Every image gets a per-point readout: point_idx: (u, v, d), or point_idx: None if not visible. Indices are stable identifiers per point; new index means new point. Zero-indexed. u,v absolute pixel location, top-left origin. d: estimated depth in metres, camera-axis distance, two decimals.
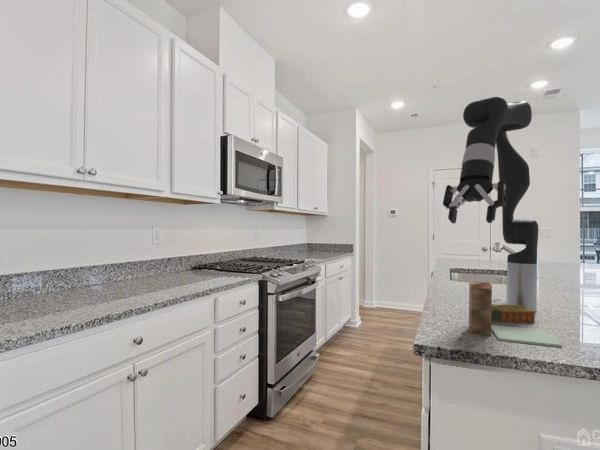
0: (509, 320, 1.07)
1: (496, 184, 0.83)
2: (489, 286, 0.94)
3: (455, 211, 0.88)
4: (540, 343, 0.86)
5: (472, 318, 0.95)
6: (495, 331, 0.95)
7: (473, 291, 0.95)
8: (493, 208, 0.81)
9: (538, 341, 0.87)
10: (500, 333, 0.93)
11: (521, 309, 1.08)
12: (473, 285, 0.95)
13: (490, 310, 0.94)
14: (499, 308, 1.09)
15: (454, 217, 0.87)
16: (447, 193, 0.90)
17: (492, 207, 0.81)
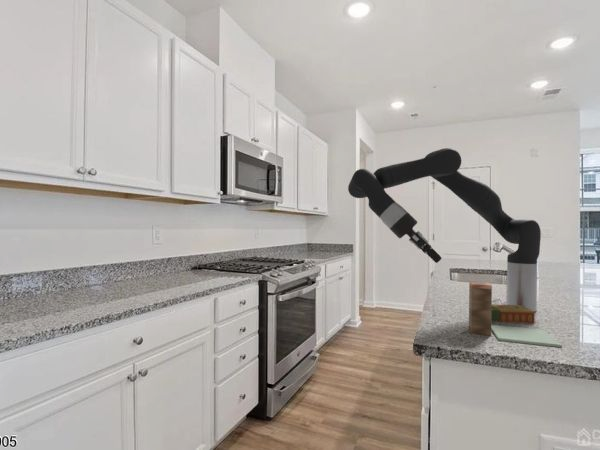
0: (509, 320, 1.07)
1: None
2: (489, 286, 0.94)
3: None
4: (540, 343, 0.86)
5: (472, 318, 0.95)
6: (495, 331, 0.95)
7: (473, 291, 0.95)
8: (429, 254, 0.98)
9: (538, 341, 0.87)
10: (500, 333, 0.93)
11: (521, 309, 1.08)
12: (473, 285, 0.95)
13: (490, 310, 0.94)
14: (499, 308, 1.09)
15: None
16: None
17: (428, 253, 0.98)
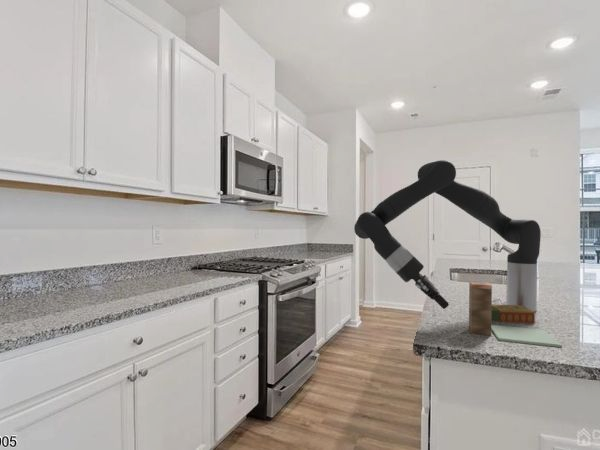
0: (508, 320, 1.07)
1: None
2: (489, 286, 0.94)
3: None
4: (540, 343, 0.86)
5: (472, 318, 0.95)
6: (495, 331, 0.95)
7: (473, 291, 0.95)
8: (436, 300, 0.99)
9: (538, 341, 0.87)
10: (500, 333, 0.93)
11: (521, 309, 1.08)
12: (473, 285, 0.95)
13: (490, 310, 0.94)
14: (499, 308, 1.09)
15: None
16: None
17: (436, 299, 1.00)
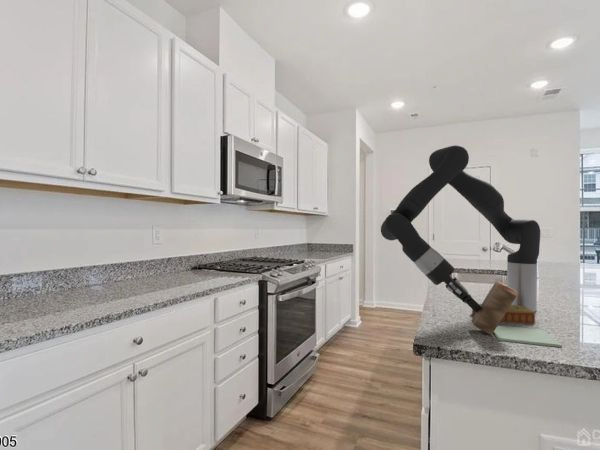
0: (508, 320, 1.07)
1: (453, 289, 0.95)
2: (515, 292, 0.91)
3: None
4: (540, 343, 0.86)
5: (482, 313, 0.94)
6: (495, 331, 0.95)
7: (497, 290, 0.93)
8: (468, 303, 0.97)
9: (538, 341, 0.87)
10: (500, 333, 0.93)
11: (521, 309, 1.08)
12: (501, 285, 0.93)
13: (503, 314, 0.92)
14: None
15: None
16: None
17: (468, 303, 0.97)
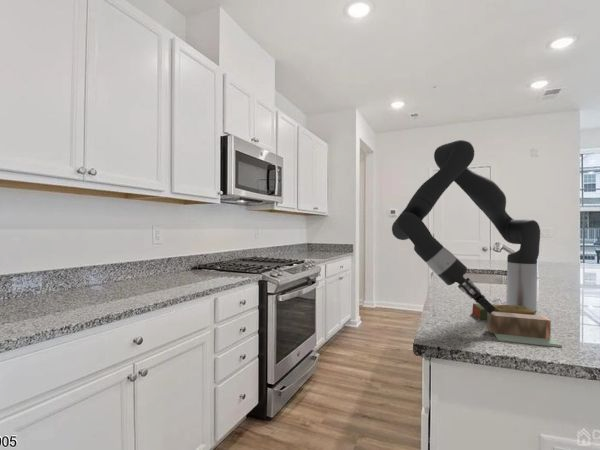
0: None
1: (467, 289, 0.94)
2: (548, 337, 0.89)
3: None
4: (540, 343, 0.86)
5: (508, 317, 0.92)
6: None
7: (541, 321, 0.89)
8: (482, 304, 0.95)
9: (538, 341, 0.87)
10: None
11: (521, 310, 1.07)
12: (548, 321, 0.89)
13: (519, 335, 0.91)
14: (498, 308, 1.09)
15: None
16: None
17: (481, 303, 0.96)
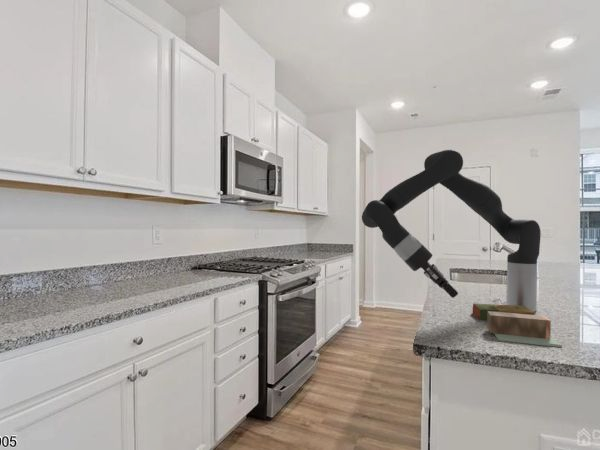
0: None
1: (430, 274, 0.97)
2: (548, 337, 0.89)
3: None
4: (540, 343, 0.86)
5: (508, 317, 0.92)
6: None
7: (541, 321, 0.89)
8: (445, 289, 0.98)
9: (538, 341, 0.87)
10: None
11: (521, 310, 1.07)
12: (548, 321, 0.89)
13: (519, 335, 0.91)
14: (498, 308, 1.09)
15: None
16: None
17: (444, 288, 0.99)
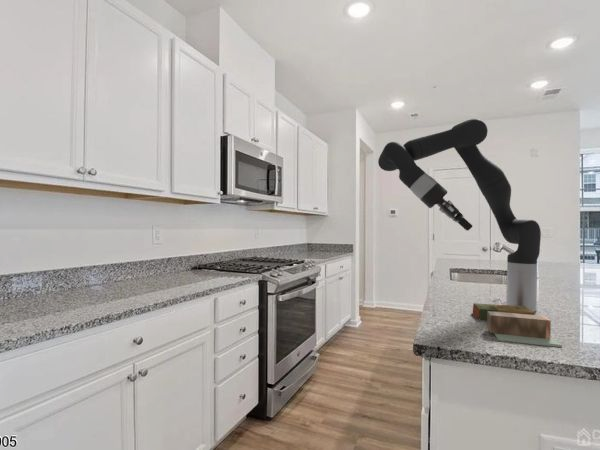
0: None
1: (446, 207, 1.02)
2: (548, 337, 0.89)
3: None
4: (540, 343, 0.86)
5: (508, 317, 0.92)
6: None
7: (541, 321, 0.89)
8: (460, 222, 1.04)
9: (538, 341, 0.87)
10: None
11: (521, 310, 1.07)
12: (548, 321, 0.89)
13: (519, 335, 0.91)
14: (498, 308, 1.09)
15: (466, 225, 1.04)
16: None
17: (459, 222, 1.04)
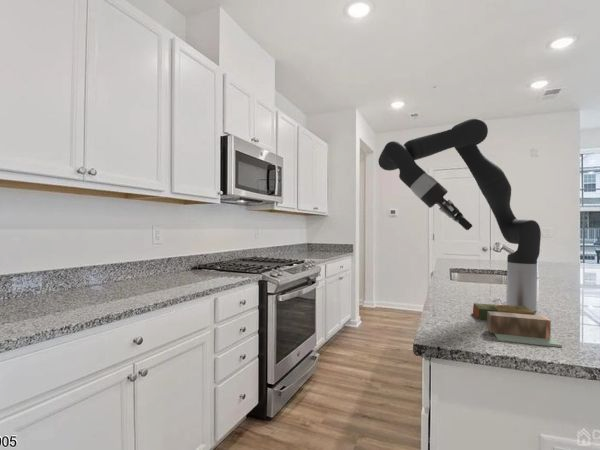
0: None
1: (446, 207, 1.02)
2: (548, 337, 0.89)
3: None
4: (540, 343, 0.86)
5: (508, 317, 0.92)
6: None
7: (541, 321, 0.89)
8: (460, 222, 1.04)
9: (538, 341, 0.87)
10: None
11: (521, 310, 1.07)
12: (548, 321, 0.89)
13: (519, 335, 0.91)
14: (497, 308, 1.09)
15: None
16: None
17: (459, 221, 1.04)
